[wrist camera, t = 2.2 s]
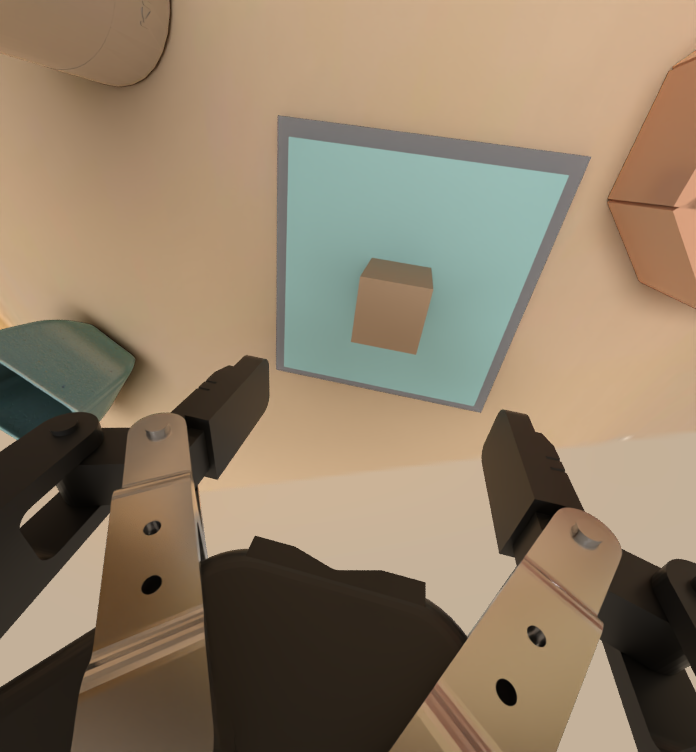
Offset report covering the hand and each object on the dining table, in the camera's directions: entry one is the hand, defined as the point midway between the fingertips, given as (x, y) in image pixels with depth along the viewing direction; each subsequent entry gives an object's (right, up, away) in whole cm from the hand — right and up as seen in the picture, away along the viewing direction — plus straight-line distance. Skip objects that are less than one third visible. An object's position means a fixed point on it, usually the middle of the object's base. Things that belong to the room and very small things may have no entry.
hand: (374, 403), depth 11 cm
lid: (+3, +7, +12) cm, 14 cm away
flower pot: (-25, +3, +22) cm, 33 cm away
